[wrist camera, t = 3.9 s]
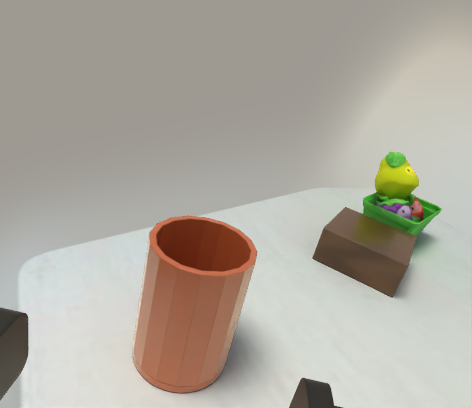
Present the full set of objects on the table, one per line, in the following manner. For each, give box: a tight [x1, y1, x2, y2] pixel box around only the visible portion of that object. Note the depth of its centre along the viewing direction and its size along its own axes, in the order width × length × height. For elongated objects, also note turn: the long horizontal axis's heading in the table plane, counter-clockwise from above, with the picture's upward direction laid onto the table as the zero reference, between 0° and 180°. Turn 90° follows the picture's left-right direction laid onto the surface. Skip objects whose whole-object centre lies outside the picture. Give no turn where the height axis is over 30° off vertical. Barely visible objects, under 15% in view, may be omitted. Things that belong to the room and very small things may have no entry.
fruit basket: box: [363, 152, 442, 236], centre depth 50 cm, size 11×9×11 cm
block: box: [313, 207, 417, 297], centre depth 42 cm, size 9×9×4 cm
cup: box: [133, 216, 257, 393], centre depth 24 cm, size 6×6×9 cm
